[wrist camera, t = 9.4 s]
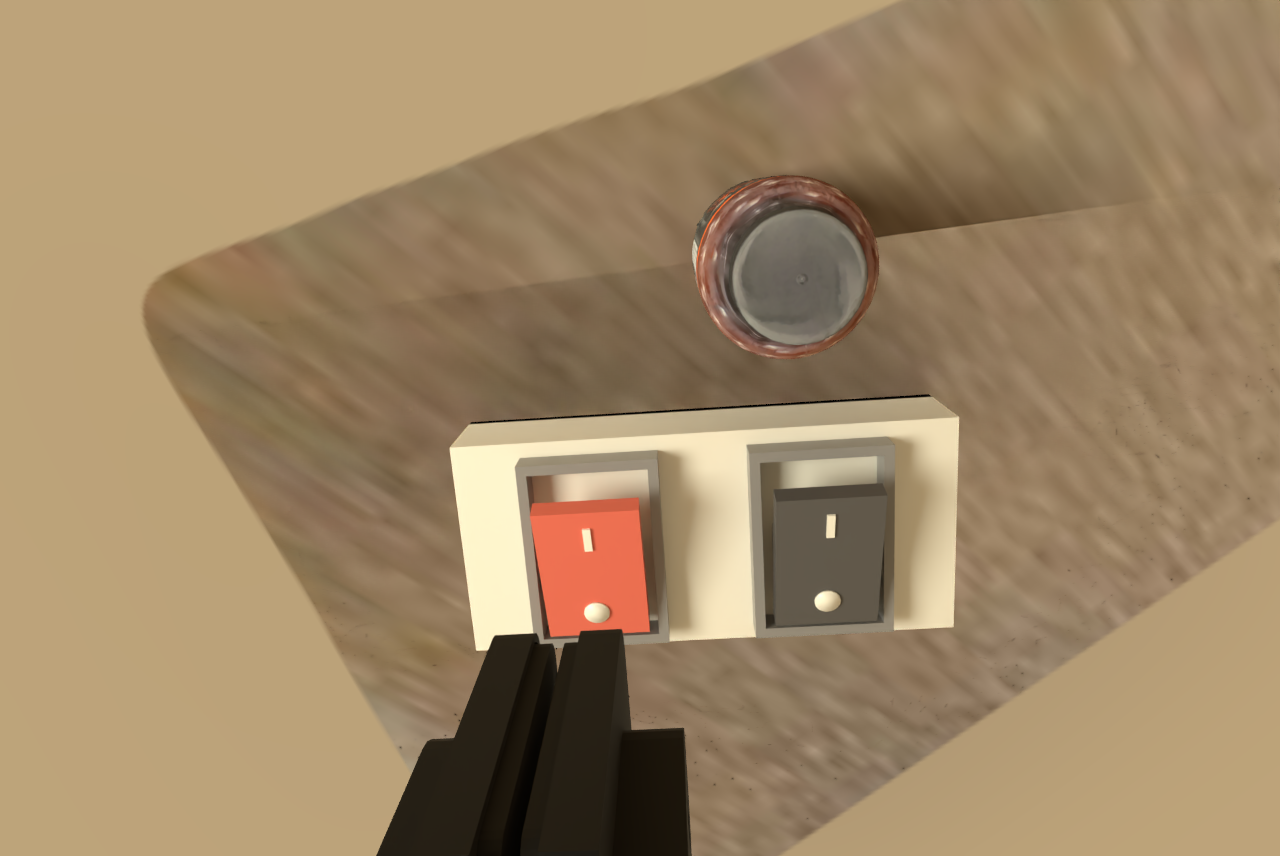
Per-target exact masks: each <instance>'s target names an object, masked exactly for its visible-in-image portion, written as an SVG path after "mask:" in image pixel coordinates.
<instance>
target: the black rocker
mask: <svg viewBox="0 0 1280 856" xmlns="http://www.w3.org/2000/svg"><path fill="white" fill-rule="evenodd" d="M887 498H888V495H887V493H886V490H885V488H884V485H883V483H876V484H858V485H841V486H823V487H806V488H788V489H773V523H772V550H773V614H774V620H775V625H776V626H781V625H801V624H821V623H842V622H862V621H877V619H878V606H879V594H880V582H881V570H882V558H883V546H884V534H885V522H886V510H887Z"/></svg>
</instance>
